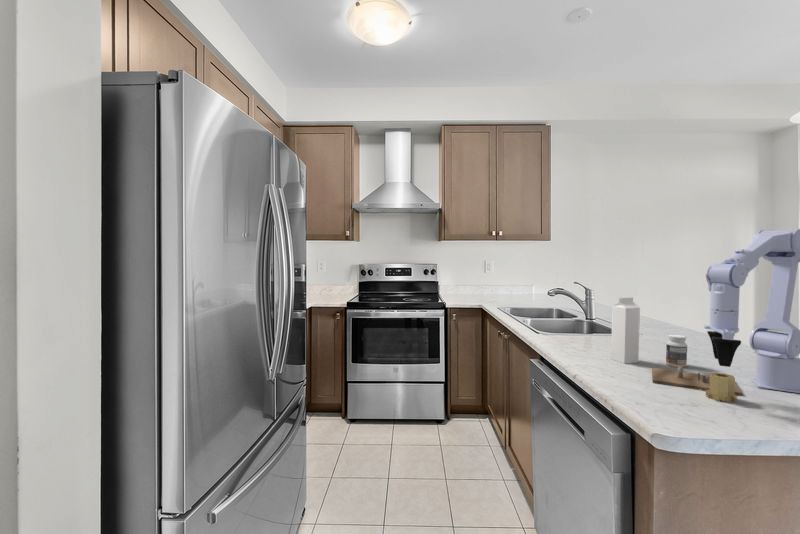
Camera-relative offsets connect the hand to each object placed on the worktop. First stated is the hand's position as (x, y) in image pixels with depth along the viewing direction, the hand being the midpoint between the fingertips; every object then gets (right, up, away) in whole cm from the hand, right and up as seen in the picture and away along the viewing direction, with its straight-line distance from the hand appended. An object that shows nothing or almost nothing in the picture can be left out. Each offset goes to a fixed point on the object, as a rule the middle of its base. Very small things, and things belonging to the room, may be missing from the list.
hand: (722, 362), depth 104 cm
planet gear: (0, -9, 0) cm, 9 cm away
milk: (-6, -8, +35) cm, 37 cm away
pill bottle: (+9, -8, +30) cm, 32 cm away
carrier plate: (+2, -9, +13) cm, 16 cm away
